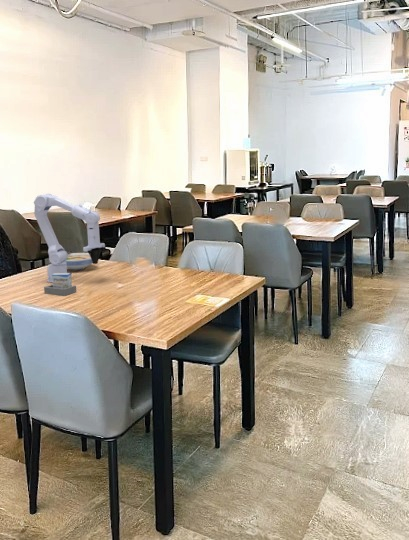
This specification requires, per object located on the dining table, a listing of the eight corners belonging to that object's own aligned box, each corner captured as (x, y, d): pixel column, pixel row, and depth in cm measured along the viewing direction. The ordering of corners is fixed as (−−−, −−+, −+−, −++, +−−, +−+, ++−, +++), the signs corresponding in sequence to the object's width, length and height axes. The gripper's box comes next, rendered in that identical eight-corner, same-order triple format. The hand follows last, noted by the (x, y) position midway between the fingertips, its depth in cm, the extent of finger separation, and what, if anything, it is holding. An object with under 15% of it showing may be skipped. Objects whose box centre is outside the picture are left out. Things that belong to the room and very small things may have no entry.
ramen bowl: (92, 273, 283) (91, 258, 281) (49, 274, 283) (48, 259, 282) (101, 264, 307) (100, 250, 306) (62, 265, 308) (61, 251, 306)
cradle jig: (44, 293, 243) (44, 287, 242) (56, 289, 250) (56, 283, 249) (64, 296, 238) (64, 289, 237) (76, 291, 245) (76, 285, 244)
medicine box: (53, 292, 244) (51, 274, 242) (56, 290, 248) (54, 272, 246) (70, 292, 243) (68, 274, 242) (72, 290, 248) (71, 272, 246)
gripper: (90, 239, 251) (92, 266, 254) (109, 234, 263) (110, 261, 266) (79, 238, 254) (80, 265, 257) (97, 234, 267) (99, 260, 269)
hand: (95, 263), depth 262 cm, fingers closed
